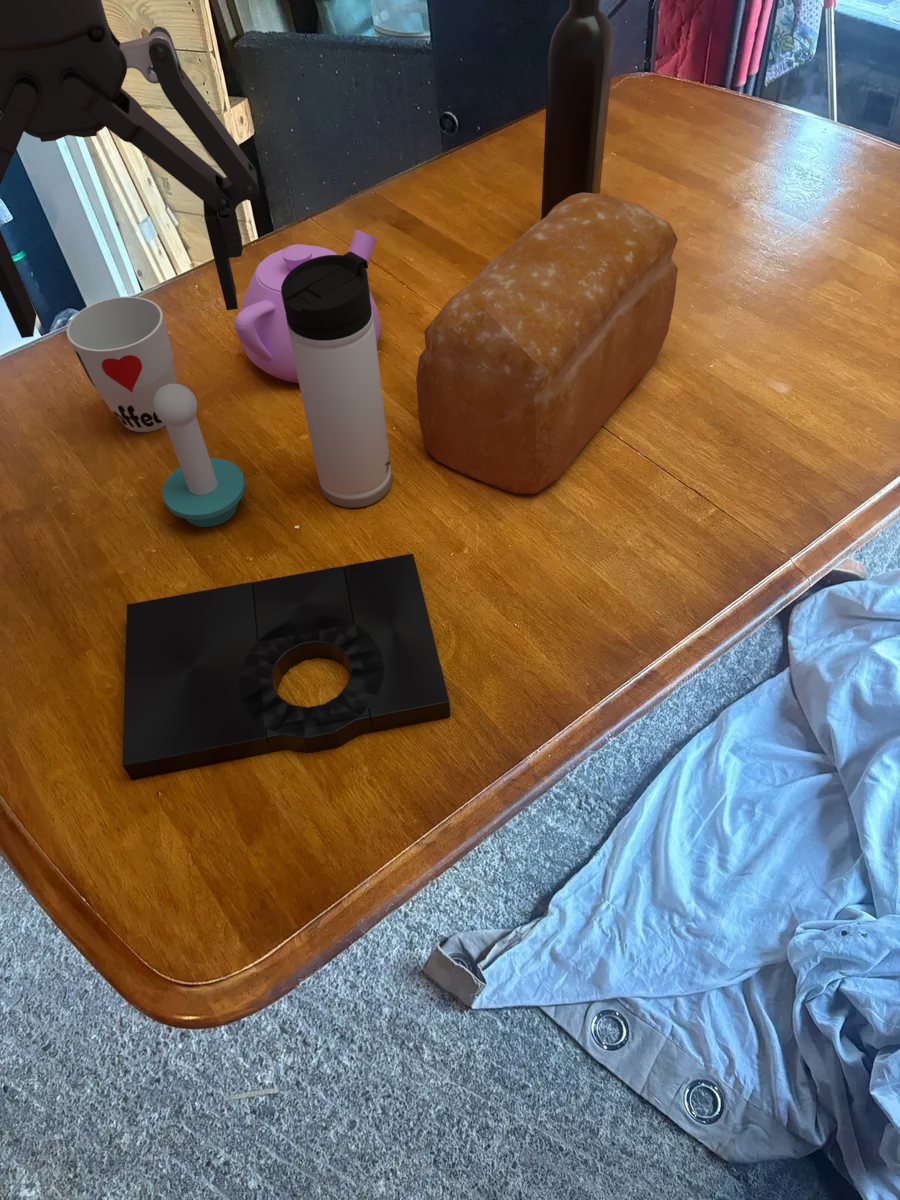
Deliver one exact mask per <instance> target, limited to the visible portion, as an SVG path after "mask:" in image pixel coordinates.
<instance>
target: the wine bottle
mask: <svg viewBox="0 0 900 1200" xmlns="http://www.w3.org/2000/svg"><path fill="white" fill-rule="evenodd" d="M600 4H601V0H570V1H569V9H568V10H567V11H566V12H565V14H564V15H563V16H562V18H561V19H560V20H559V22H558V23H557V25H556V26H555V29H554V31H553V33H552V36H551V40H550V44H549V49H548V59H547V80H546V81H547V83H546V99H545V100H546V101H545V102H546V104H545V120H544V121H545V122H544V123H545V124H544V125H545V126H544V143H543V145H544V146H543V163H542V165H543V166H542V185H541V186H542V190H541V207H540V208H541V209H540V211H541V212H540V220H542V219H543V218H545V217H546V216H547V215H548V214H549V212H550V211H551V210H552V209H553V207H554V206H556V205H557V204H559V203H560V202H562V201H563V200H565V199H566V198H568V197H569V196H571V195H575V194H578V193H595V194H601V185H602V173H603V166H604V165H603V164H604V154H605V153H604V152H605V144H606V134H607V124H608V112H609V102H610V94H611V93H610V92H611V83H612V72H613V62H614V51H615V38H614V37H615V36H614V29H613V26H612V23H611V20H610V19H609V18H608V16H607V15H606V14H605V13H604V11H602V10H601V8H600V6H601V5H600Z"/></svg>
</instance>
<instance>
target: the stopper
mask: <svg viewBox="0 0 900 1200" xmlns="http://www.w3.org/2000/svg"><path fill="white" fill-rule="evenodd" d="M153 406H154V411H155V413H156V415H157V417H158V418H159V419H160V420H161V421H162V422H164V423H165V425H166V426H165V427H166V430H167V433H168V436H169V439H170V441H171V444H172V447H173V451H174V453H175V455H176V458H177V461H178V463H179V467H178V468H176V469H175V470H173V471H172V472H171V473H170V474H169V475H168V477H167V478H166V479H165V481H164V483H163V485H162V489H161V492H162V493H161V496H162V499H163V502H164V505H165V506H166V508H167V510H169V512H171V513H172V514H173V515H175V516H177V517H179V518H182V519H185V520H186V521H187V522H189V523H190V524H192V525H193V526H197V527H200V528H201V527H202V528H208V527H209V528H210V527H215V526H218V525H219V526H220V525H221V524H223V523H225V522H227V521H228V520H229V519H231V518H232V517H233V516H234V515H235V513H236V511H237V509H238V506H239V505H238V504H239V502H240V501H241V500H242V498H243V496H244V494H245V491H246V479H245V476H244V474H243V472H242V470H241V469H240V467H239V466H238V465H236V464H235V463H233V462H231V461H230V460H227V459H223V458H216V457H210V455H209V451H208V448H207V446H206V442H205V439H204V436H203V433H202V430H201V427H200V424H199V420H198V418H197V415H196V414H197V411H198V400H197V398H196V395H195V394H194V393H193V391H192V389H191V390H190V389H189V388H188V387H187V386H185V385H184V384H181V383H176V384H175V383H172V384H167V385H165V386H163V387H161V388H160V389H159V390H158V391H157V393H156V394H155V397H154V401H153Z"/></svg>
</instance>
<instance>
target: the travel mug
mask: <svg viewBox="0 0 900 1200" xmlns="http://www.w3.org/2000/svg"><path fill="white" fill-rule="evenodd" d="M365 268H366V269H367V271H366V269H365ZM368 269H369V264H368V263H367V260H365V259H364V258H362V257H360V256H358V255H356V254H355V253H353V252H351V251H350V252H348V251H347V252H346V253H344V254H338V255H326V256H320V257H316V258H313V259H310V260H308V261H305V262H303V263H302V264H300V265H298V266H297V267H295V268H294V269H293V270H292V271H291V272H290V273H289V274H288V275H287V276H286V278H285V279H284V281H283V283H282V286H281V294H282V298H283V303H284V308H285V312H286V318H287V319H286V322H287V327H288V330H289V331H288V332H289V337H290V342H291V347H292V351H293V356H294V361H295V366H296V371H297V376H298V381H299V383H298V385H299V389H300V395H301V400H302V405H303V411H304V414H305V419H306V424H307V430H308V434H309V439H310V443H311V449H312V453H313V459H314V463H315V468H316V473H317V478H318V484H319V487H320V492H321V493H322V495H323V496H324V497H325V499H327V501H329V502H330V503H332V504H334V505H336V506H338V507H343V508H351V509H353V508H354V509H355V508H362V507H368V506H370V505H372V504H374V503H377V502H379V501H380V500H381V499H382V498H384V497H385V496H386V495H387V493H388V492H389V491H390V489H391V487H392V483H393V474H392V466H391V457H390V447H389V440H388V439H389V438H388V432H387V430H388V429H387V423H386V414H385V406H384V398H383V388H382V380H381V371H380V362H379V353H378V345H376V336H375V328H374V320H373V311H372V308H371V302H370V293H371V291H370V285H369V284H370V283H369V276H368ZM369 291H370V292H369Z"/></svg>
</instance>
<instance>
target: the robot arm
mask: <svg viewBox="0 0 900 1200" xmlns="http://www.w3.org/2000/svg"><path fill="white" fill-rule="evenodd" d="M128 69H136V70H137V71H139V72H140V73H141V75H142V76H143V77H144V79H145V80H146V81H147V82H148V83H150V84H153V85H157V84H159V85H160V88H161V90H162V92H163V94H164V95H165V97H166V99H167V100H168V102H169V103H170V104H171V106H172V107H173V109H174V110H175V111H176V112H177V114H178V115H179V116H180V117H181V119H182V120H183V121H184V123H185V124H186V125H187V127H188V128H189V129H190V131H191V132H192V133H193V135H194V136H195V137H196V139H197V140H198V141H199V142H200V144H201V145H202V146H203V148H204V149H205V151H206V152H207V153H208V154H209V155H210V157H211V158H212V160H213V161H214V162H215V163H216V165H217V166H218V168H219V169H220V170H221V171H222V173H223V174H224V175H225V177H224V176H223V175H222V174H220V173H219V172H218V171H217V170H216V169H214V168H213V167H212V166H211V165H210V164H209V163H208V162H206V161H205V160H204V159H202V158H201V157H200V156H199V155H198V154H197V153H196V152H194V151H193V150H192V149H191V148H190V147H188V146H187V145H186V144H185V143H183V142H182V140H180V139H179V138H177V137H176V136H175V135H174V134H173V133H172V132H170V131H169V130H168V129H167V128H166V127H165V126H163V125H162V124H161V123H160V122H158V121H157V120H156V119H155V118H154V117H152V115H150V114H149V113H148V112H146V110H144V109H143V108H142V106H141V104H140V103H139V102H138V101H137V100H136V99H135V98H134V97H133V96H131V95H130V94H129V93H128V91H126V90H125V89H123V85H124V82H125V79H126V76H127V73H128ZM104 128H107V129H108V130H109V131H110V132H111V133H113V134H114V135H116V137H118V138H119V139H120V140H122V141H123V142H125V143H130V144H131V145H133V146H134V147H136V149H138V150H139V151H140V152H141V153H143V154H144V155H146V157H148V158H149V159H150V160H151V161H152V162H154V163H155V164H156V165H158V166H159V167H160V168H161V169H162V170H164V171H165V172H166V173H168V174H169V175H170V176H171V177H173V179H175V180H177V181H178V182H179V183H180V184H181V185H182V186H183V187H185V188H186V189H188V191H190V192H191V193H192V194H194V195H195V196H196V197H198V198H199V199H200V200H201V201H202V202H203V203H202V204H203V215H204V216H203V217H204V223H205V227H206V232H207V236H208V239H209V244H210V247H211V251H212V255H213V260H214V263H215V264H214V265H215V267H216V272H217V277H218V280H219V285H220V288H221V293H222V297H223V301H224V304H225V309H226V311H234V310H238V309H239V308H238V297H237V287H236V283H235V279H234V275H233V270H232V265H231V262H230V261H231V260H230V259H233V258H241V257H242V255H243V250H244V247H243V239H242V234H241V233H242V232H241V230H240V224H239V220H238V216H237V215H238V214H237V211H236V209H237V208H238V206H239V205H240V204H242V203H243V202H245V201H248V202H249V201H255V200H256V199H258V198H259V196H260V185H259V178H258V173H257V169H256V168H255V165H253V164H252V162H251V161H250V159H249V158H248V157H247V155H246V154H245V152H244V151H243V150H242V148H241V147H240V146H239V144H238V143H237V142H236V140H235V139H234V138H233V136H232V135H231V133H230V132H229V130H228V129H227V128H226V126H225V124H223V122H222V120H220V118H219V117H218V116H217V114H216V113H215V112H214V110H213V109H212V108H211V106H210V104H209V103H208V102H207V101H206V99H205V98H204V96H203V95H202V93H201V92H200V91H199V90H198V88H197V87H196V85H195V84H194V83H193V81H192V80H191V78H190V77H189V76H188V74H187V73H186V72H185V70H184V69H183V68H182V65H181V62H180V59H179V56H178V53H177V49H176V47H175V44H174V41H173V39H172V36H171V34H170V32H169V30H167V29H166V28H165V27H162V26H155V27H152V29H151V30H150V31H149V35H148V36H145V37H140V38H137V39H132V40H128V41H123V42H121V41H120V40H119V39H118V38H117V37H116V36H115V34H114V33H113V31H112V29H111V27H110V25H109V22H108V19H107V15H106V12H105V8H104V5H103V2H102V0H0V185H1V184H2V181H3V180H4V178H5V175H6V172H7V170H8V168H9V165H10V163H11V161H12V158H13V156H14V155H15V153H16V151H17V148H18V147H19V144H20V141H21V139H22V136H23V134H24V133H26V134H27V135H29V136H31V137H33V138H37V139H40V142H41V143H46V142H54V141H55V142H56V141H57V140H59V139H63V138H64V137H68V136H69V137H78V138H91V137H97V136H98V132H100V131H102V130H103V129H104ZM0 295H1V297H2V298H3V301H4V303H5V305H6V308H7V309H8V312H9V313H10V316H11V318H12V320H13V323H14V324H15V327H16V329H17V331H18V333H19V335H20V338H21V339H26V338H32V337H34V334H35V328H36V321H37V315H38V314H37V312H36V309H35V307H34V305H33V302H32V300H31V297H30V295H29V293H28V291H27V289H26V286H25V284H24V282H23V280H22V278H21V275H20V272H19V270H18V268H17V266H16V263H15V261H14V259H13V256H12V254H11V251H10V249H9V247H8V244H7V243H6V240H5V238H4V236H3V234H2V231H1V230H0Z"/></svg>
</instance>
